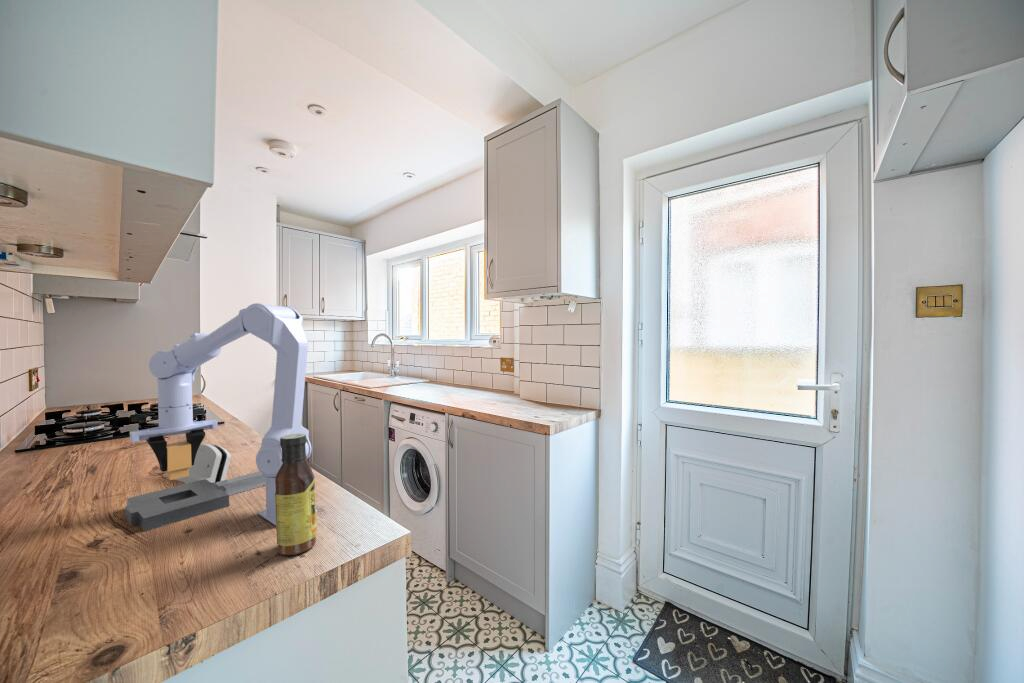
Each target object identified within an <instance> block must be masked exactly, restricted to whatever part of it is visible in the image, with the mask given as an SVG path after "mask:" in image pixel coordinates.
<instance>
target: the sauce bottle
mask: <svg viewBox="0 0 1024 683" xmlns="http://www.w3.org/2000/svg"><path fill="white" fill-rule="evenodd" d="M305 444H306V434H290V435H286V436H283V437H281V438H280V445H281V448H282V459H281V461H282V462H283V464H282V466H281V467H280V469H279V471H278V473H277V475H276V478H275V486H276V492H275V506H276V525H275V527H276V529H275V530H276V544H277V550H278V553H279V554H281V555H283V556H295V555H298V554H299V555H300V554H302V553H304V552H308V551H309V550H311V549H312V548H313V547H314V546H315V544H316V542H317V537H316V536H317V534H318V532H317V512H316V509H317V505H316V502H317V500H316V481H315V479H316V477H315V475H314V473H313V470H312V467H311V464H310V463H309V461H308V459H307V458H306V446H305Z"/></svg>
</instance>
